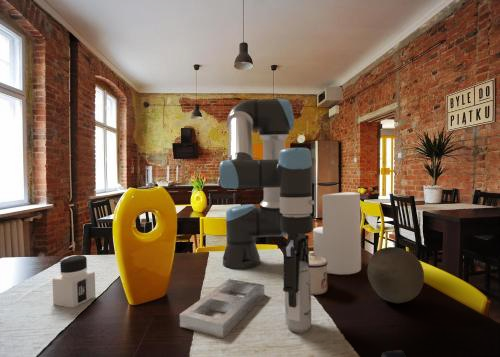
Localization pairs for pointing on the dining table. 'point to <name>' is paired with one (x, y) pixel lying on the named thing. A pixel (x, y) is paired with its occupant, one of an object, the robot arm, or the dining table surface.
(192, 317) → the rail
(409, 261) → the cantaloupe
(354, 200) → the cylinder
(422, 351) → the dining table surface
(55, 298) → the container
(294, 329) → the energy drink can
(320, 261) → the teacup with lid
